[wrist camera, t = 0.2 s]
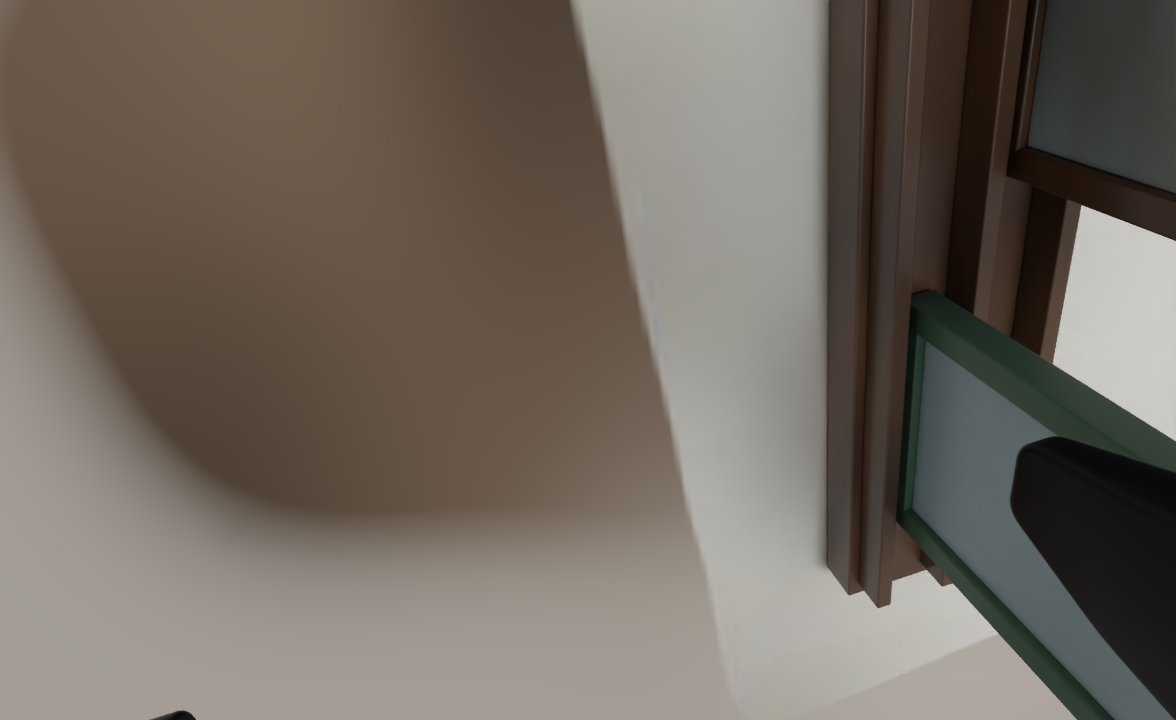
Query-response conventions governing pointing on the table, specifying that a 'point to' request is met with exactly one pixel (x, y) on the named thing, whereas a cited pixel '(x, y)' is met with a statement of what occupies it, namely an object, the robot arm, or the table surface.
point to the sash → (982, 493)
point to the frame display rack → (970, 203)
